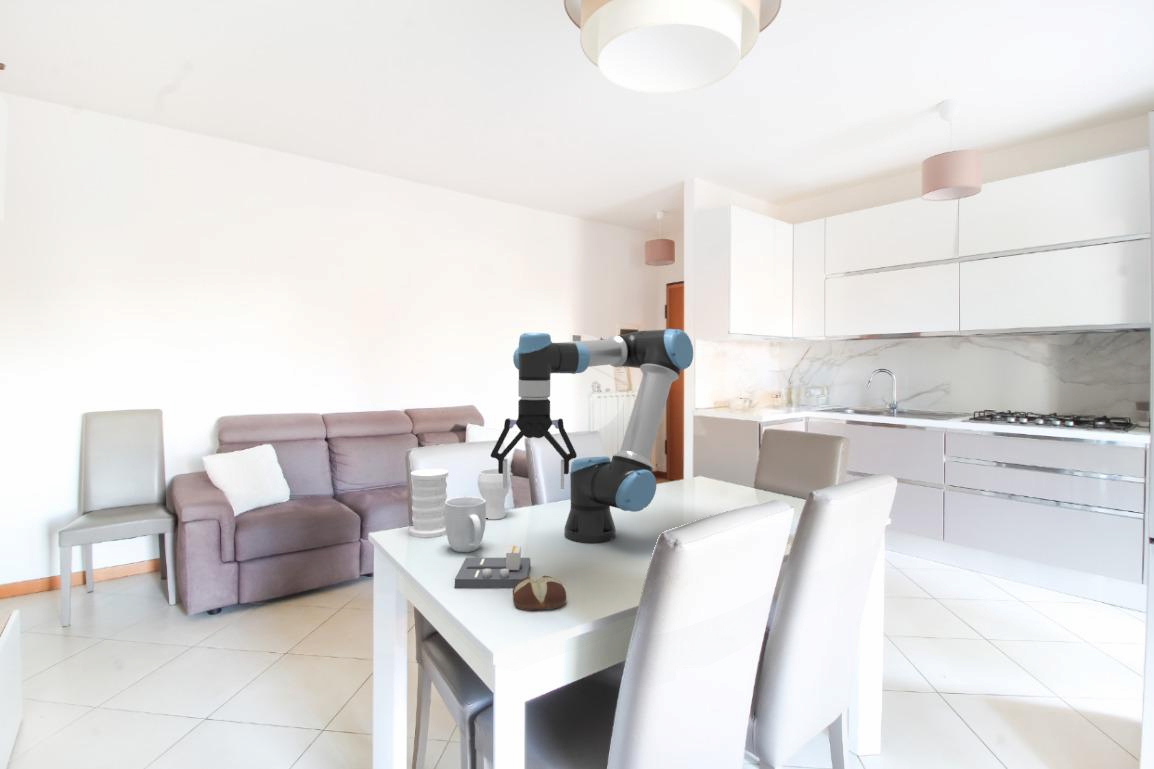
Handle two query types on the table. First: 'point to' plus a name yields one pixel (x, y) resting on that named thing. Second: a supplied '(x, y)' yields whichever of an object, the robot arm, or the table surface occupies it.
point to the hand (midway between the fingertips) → (533, 487)
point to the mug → (465, 522)
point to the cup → (493, 492)
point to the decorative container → (428, 502)
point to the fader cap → (513, 557)
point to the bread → (539, 593)
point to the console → (490, 573)
